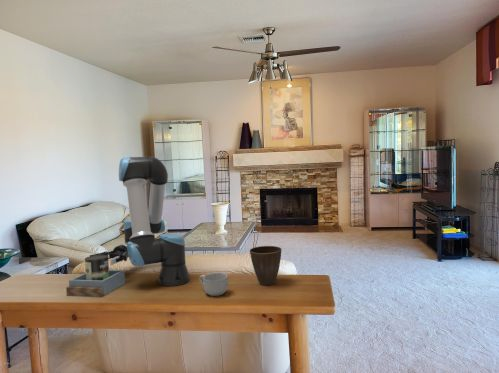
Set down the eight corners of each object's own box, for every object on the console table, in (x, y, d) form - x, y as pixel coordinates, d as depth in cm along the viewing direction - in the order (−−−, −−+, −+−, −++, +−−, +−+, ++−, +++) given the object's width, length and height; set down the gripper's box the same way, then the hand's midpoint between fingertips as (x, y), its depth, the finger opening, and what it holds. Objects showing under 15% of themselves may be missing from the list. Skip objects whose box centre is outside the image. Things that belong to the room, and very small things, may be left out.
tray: (125, 283, 182) (124, 270, 181) (103, 295, 165) (102, 281, 165) (93, 282, 186) (93, 269, 185) (69, 294, 169) (68, 280, 168)
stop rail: (104, 296, 165) (103, 287, 165) (101, 297, 163) (101, 288, 163) (69, 294, 169) (68, 286, 169) (66, 296, 167) (66, 287, 167)
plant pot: (264, 290, 164) (262, 254, 163) (244, 282, 176) (243, 249, 175) (289, 283, 173) (288, 249, 172) (269, 276, 185) (267, 244, 184)
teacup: (233, 292, 163) (232, 274, 162) (214, 300, 155) (214, 281, 154) (212, 286, 172) (211, 269, 172) (194, 293, 164) (193, 275, 164)
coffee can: (114, 283, 179) (112, 254, 179) (101, 290, 169) (99, 260, 168) (95, 282, 181) (93, 254, 181) (81, 289, 171) (79, 259, 171)
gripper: (144, 258, 195) (122, 270, 174) (102, 258, 200) (75, 269, 179) (143, 244, 194) (121, 254, 173) (101, 244, 199) (74, 254, 179)
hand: (98, 262), depth 176 cm, fingers open, 13 cm apart
